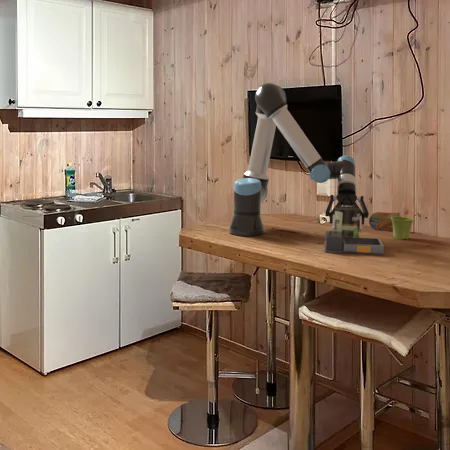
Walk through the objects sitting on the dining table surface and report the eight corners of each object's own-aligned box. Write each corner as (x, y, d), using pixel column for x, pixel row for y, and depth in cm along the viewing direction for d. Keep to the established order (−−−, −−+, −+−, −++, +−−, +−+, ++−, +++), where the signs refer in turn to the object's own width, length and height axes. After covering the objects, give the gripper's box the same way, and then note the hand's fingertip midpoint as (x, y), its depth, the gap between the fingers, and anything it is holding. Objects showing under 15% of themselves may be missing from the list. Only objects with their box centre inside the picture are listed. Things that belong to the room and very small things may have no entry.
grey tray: (324, 252, 220) (325, 237, 219) (323, 244, 234) (324, 230, 233) (383, 255, 217) (384, 239, 216) (378, 247, 231) (379, 232, 230)
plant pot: (409, 241, 244) (410, 221, 242) (386, 238, 248) (388, 218, 247) (415, 238, 251) (416, 218, 250) (393, 235, 256) (394, 215, 255)
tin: (368, 229, 270) (369, 211, 269) (369, 228, 273) (370, 210, 272) (402, 232, 265) (403, 213, 263) (402, 231, 268) (404, 212, 266)
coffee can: (362, 241, 241) (364, 207, 239) (351, 245, 233) (353, 210, 231) (339, 238, 247) (341, 205, 245) (328, 242, 239) (330, 208, 237)
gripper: (372, 193, 251) (374, 236, 238) (319, 191, 254) (318, 234, 241) (374, 182, 245) (376, 225, 232) (320, 180, 248) (319, 223, 235)
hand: (347, 230), depth 236 cm, fingers closed on coffee can, 10 cm apart
